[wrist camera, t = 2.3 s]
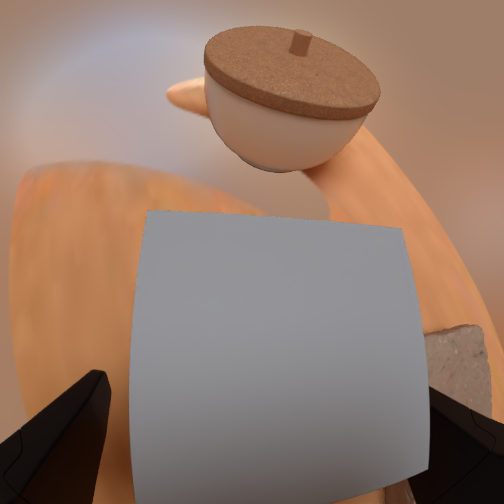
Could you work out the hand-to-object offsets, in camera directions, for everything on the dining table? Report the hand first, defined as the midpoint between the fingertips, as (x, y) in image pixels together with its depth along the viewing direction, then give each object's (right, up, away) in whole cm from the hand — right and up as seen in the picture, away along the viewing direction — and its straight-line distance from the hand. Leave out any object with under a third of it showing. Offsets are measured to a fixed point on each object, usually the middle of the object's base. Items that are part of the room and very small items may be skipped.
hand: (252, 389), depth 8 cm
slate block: (-1, -3, +8) cm, 8 cm away
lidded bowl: (+2, +14, +17) cm, 21 cm away
